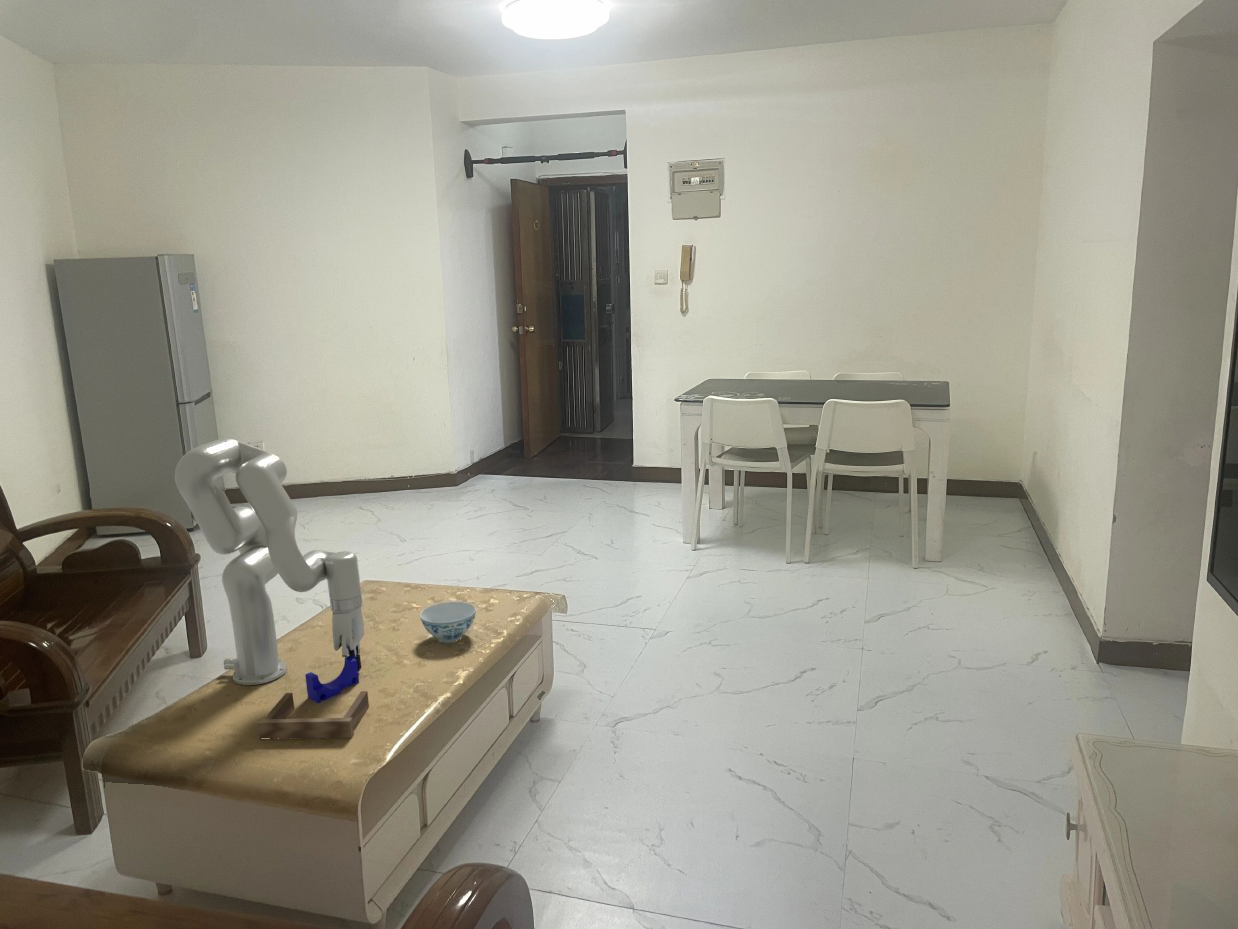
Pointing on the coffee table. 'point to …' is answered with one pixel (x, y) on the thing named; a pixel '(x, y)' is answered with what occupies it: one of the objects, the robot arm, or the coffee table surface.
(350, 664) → the cable clip
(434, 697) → the coffee table surface
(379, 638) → the coffee table surface
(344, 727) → the dock bay
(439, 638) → the chinaware
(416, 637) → the coffee table surface
